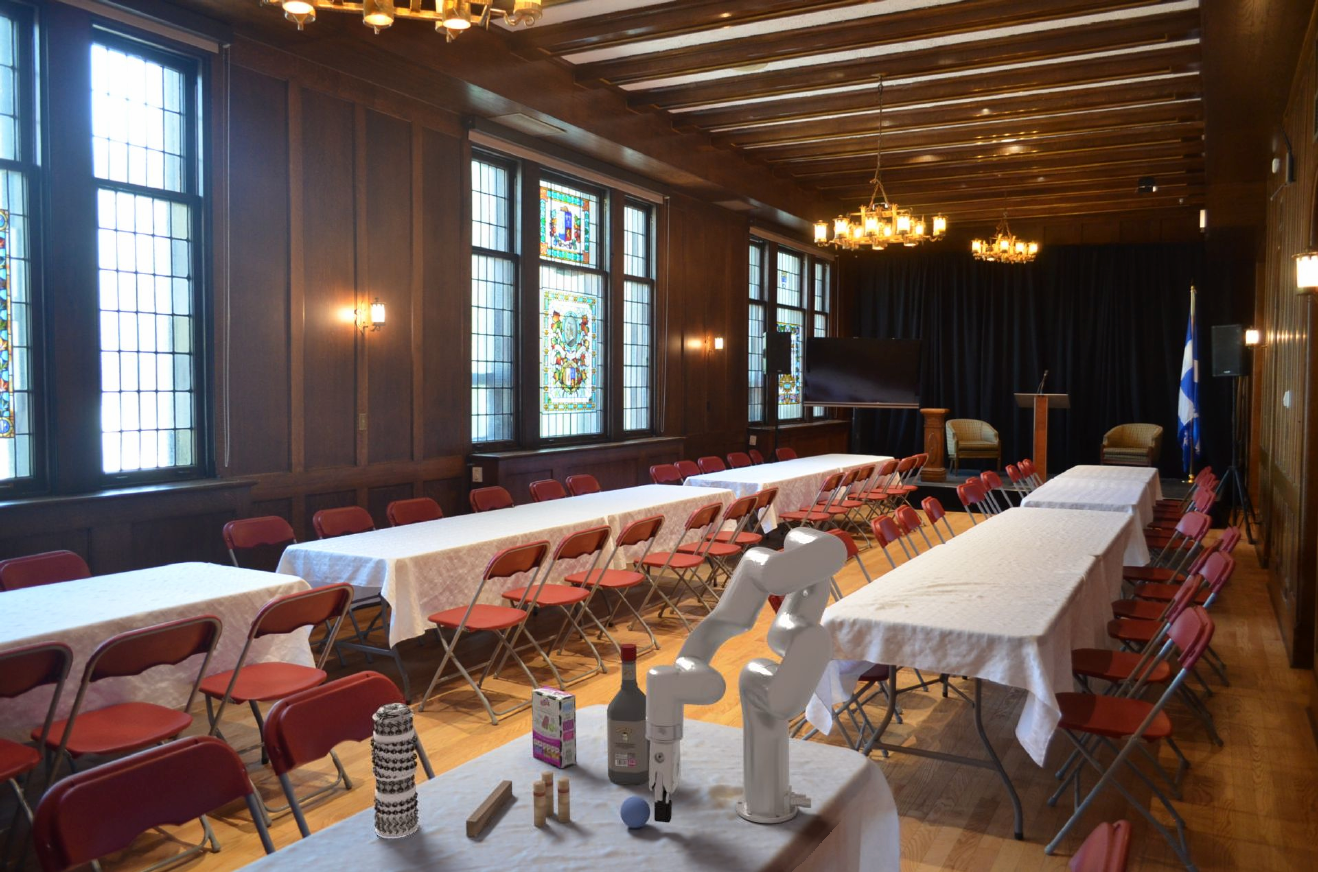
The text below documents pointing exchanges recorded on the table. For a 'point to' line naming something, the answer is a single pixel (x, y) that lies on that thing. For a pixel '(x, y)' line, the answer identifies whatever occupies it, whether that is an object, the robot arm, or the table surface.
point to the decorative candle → (394, 770)
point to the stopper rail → (488, 808)
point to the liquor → (628, 727)
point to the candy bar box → (554, 726)
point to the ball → (635, 812)
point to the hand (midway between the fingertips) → (662, 819)
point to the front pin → (563, 800)
